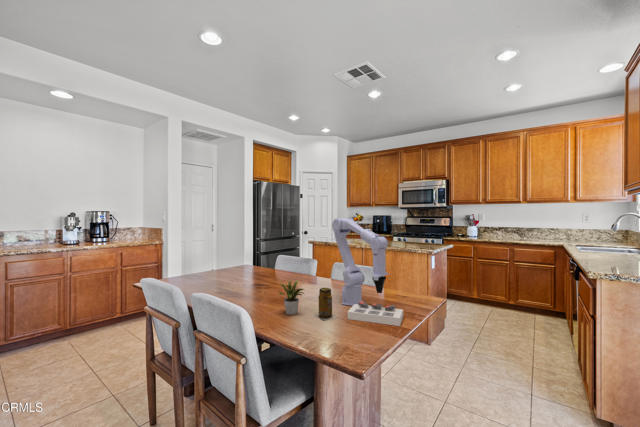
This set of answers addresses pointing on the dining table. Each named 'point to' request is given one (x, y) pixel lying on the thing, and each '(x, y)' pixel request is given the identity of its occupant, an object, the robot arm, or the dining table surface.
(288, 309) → the house plant
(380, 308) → the rocker middle
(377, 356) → the dining table surface
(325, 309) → the condiment
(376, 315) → the power strip
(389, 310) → the rocker right
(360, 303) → the rocker left
